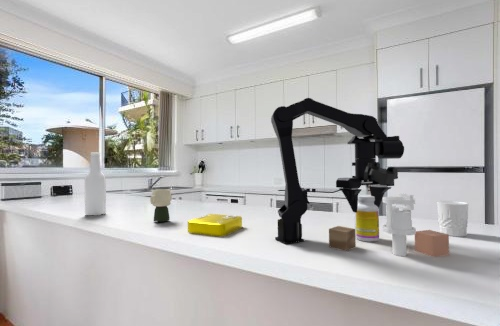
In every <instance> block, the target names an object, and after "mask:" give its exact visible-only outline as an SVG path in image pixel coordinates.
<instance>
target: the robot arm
mask: <svg viewBox="0 0 500 326" xmlns="http://www.w3.org/2000/svg"><path fill="white" fill-rule="evenodd" d="M304 115H310V116H313V117H315V118H318V119H321V120H323V121H325V122H329V123H331V124H334V125H337V126H339V127H342V128H343V129H344V130H346V131H347V132H348V133H350V134H352V135H353V136H352V137H351V139H350V140H348V141H347V145H354V161H353V162H351V166H352V167H354V175H351V177H338V178H337V179H336V181H335V187H336V188H338V190H339V191H341V192H342V194H343V195H344V198H346V201H347V202H348V205H349V206H350V209H351V211H352V212H353V213H354V214H355V213H356V212H357V208H358V203H359V201H358V196H359V194H360V193H361V192H362V189H361V187H362V186H369V187H368V188H369V193H370V196H374V197H375V201H374V205H376V206H377V207H378V209H380V206H381V203H382V202H383V199H382V198H383V197H384V195H385V193H386V192H387V191H388V190H391V189H392V187H395V180H398V179H399V176H398V175H399V173H398V168H396V167H395V166H390V167H389V166H388V168H383V167H381V163H380V162H379V161H377V160H376V159H377V158H378V159H379V160H381V159H382V160H383V159H384V160H387V159H388V160H389V159H394V160H395V159H398V160H399V159H401V158H402V157H403V155H404V153H405V146H404V144H403V141H401V140H400V135H393V136H388V135H386V133H385V131H384V130H383V129H382V128H381V126H380V125H379V122H378V120H377V118H376V117H374V116H372V115H368V114H363V113H362V114H361V113H351V112H348V111H345V110H342V109H339V108H336V107H334V106H330V105H328V104H325V103H323V102H319V101H317V100H315V99H313V98H311V97H306V98H304V99H303V100H301V101H298V102H295V103H292V104H290V105H288V106H285V105H283V106H282V105H281V106H277V108H275V110H274V111H273V112H272V115H271V118H270V119H271V120H270V122H271V124H272V125H271V126H272V128H273V131H274V133H275V135H276V138H277V140H278V145H279V153H280V157H281V163H282V164H281V165H282V170H283V178H284V182H285V186H284V187H285V189H284V204H283V205H281V206H280V208H279V209H278V210H277V214H278V216H279V219H277V236H275V237H274V239H275V240H276V241H278V242H280V243H283V244H286V245H291V244H294V243H295V244H296V243H302V242H305V238H303V225H302V222H301V221H302V220H301V219H302V216H303V215H305V213H306V212H307V211H308V209H309V207H308V205H310V201H309V199H308V190H307V189H306V188H304V187H302V186H301V184H300V181H299V175H298V174H299V173H298V169H297V162H296V155H295V150H294V144H293V130H294V129H293V128H294V120H296V119H298V118H300V117H302V116H304Z"/></svg>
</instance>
